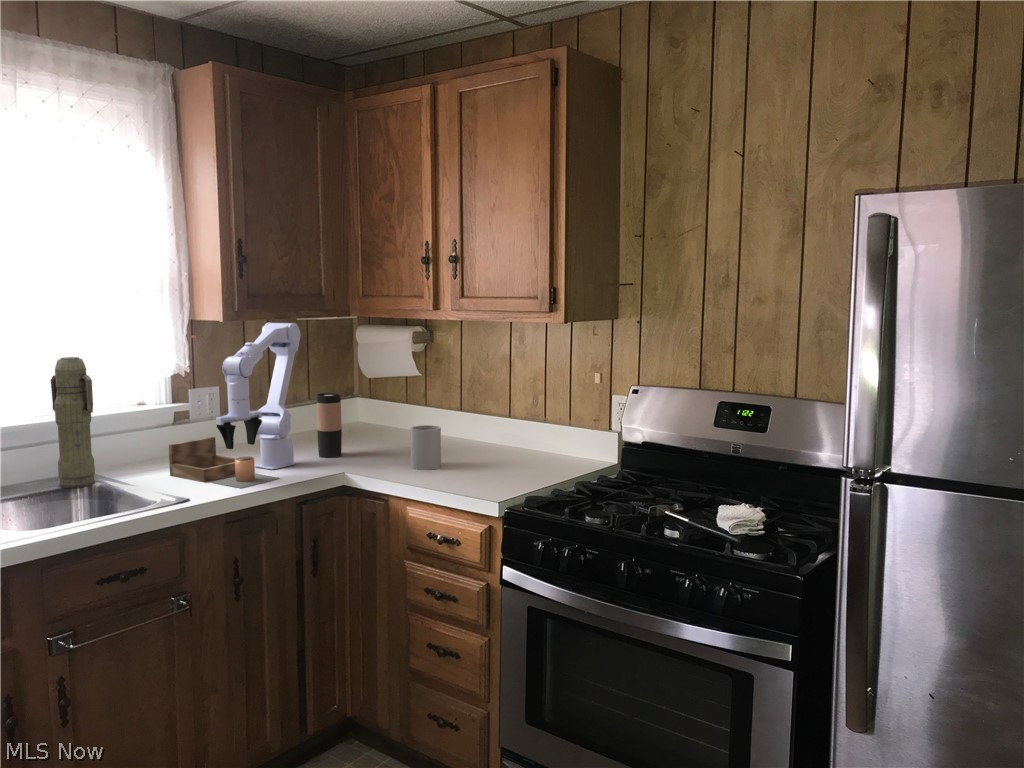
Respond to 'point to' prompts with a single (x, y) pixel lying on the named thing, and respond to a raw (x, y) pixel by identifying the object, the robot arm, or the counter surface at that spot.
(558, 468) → the counter surface
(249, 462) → the peach orange cylinder
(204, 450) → the potting tray
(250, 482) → the slate mat
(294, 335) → the robot arm
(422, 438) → the cup
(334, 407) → the travel mug
